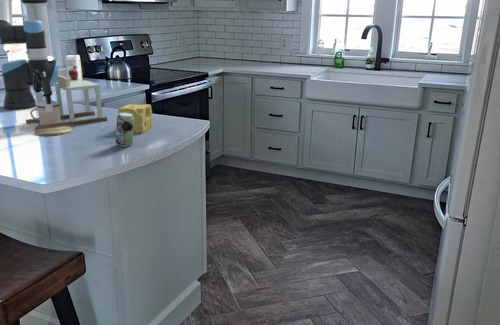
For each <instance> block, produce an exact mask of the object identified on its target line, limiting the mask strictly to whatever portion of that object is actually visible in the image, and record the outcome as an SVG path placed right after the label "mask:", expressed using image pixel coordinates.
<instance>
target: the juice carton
mask: <svg viewBox="0 0 500 325" xmlns="http://www.w3.org/2000/svg"><path fill="white" fill-rule="evenodd" d="M81 62H82V61H81V57H80V54H73V55H72V54H71V55H70V54H69V55H66V56H65V66H66V74H67V78H69V81H70V82H73V81H84V79H83V71H82V63H81Z"/></svg>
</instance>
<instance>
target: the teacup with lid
mask: <svg viewBox="0 0 500 325" xmlns="http://www.w3.org/2000/svg"><path fill="white" fill-rule="evenodd" d="M59 105H60V104H59V103H58V102H57V101H55V100H53V99H52V106H53V111H51V112H46V109H45V101H44V100H43V101H42V102H41V103H38V104H37V103H36V107H37V108H32V109H31V110H30V113H29V114H30V116H31V119H35V120H39V121H40V122H39V126H41V125H48V124H56V123H62V119H61V117H60V109H59ZM34 111H37V112H38V118H37V117H35V116H34V115H33V112H34Z"/></svg>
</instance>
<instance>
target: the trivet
mask: <svg viewBox="0 0 500 325" xmlns="http://www.w3.org/2000/svg"><path fill="white" fill-rule="evenodd" d="M72 131H73V129H72V126H54V127H47V128H40V129H37V130H36V129H35V130H34V133H35V135H37V136H40V137H55V136H61V135H66V134H70V133H71V132H72ZM65 133H66V134H65Z"/></svg>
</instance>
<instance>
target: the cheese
mask: <svg viewBox="0 0 500 325" xmlns="http://www.w3.org/2000/svg"><path fill="white" fill-rule="evenodd" d="M117 112H118V113H117V114H118V115H119V113H131V114H133V117H134V130H133V133H137V134H144V133H145V132H147V131H148V130H150V129H152V128H153V110H152V105H151V104H129V103H128V104H126V105H124V106H122V107H120V108H118V110H117ZM118 115H117V116H118Z"/></svg>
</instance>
